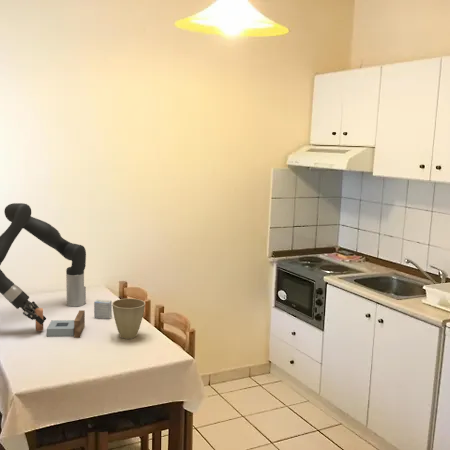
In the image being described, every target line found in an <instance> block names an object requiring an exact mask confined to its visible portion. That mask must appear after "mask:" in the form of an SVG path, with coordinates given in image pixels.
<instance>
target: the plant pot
mask: <svg viewBox="0 0 450 450" xmlns="http://www.w3.org/2000/svg"><path fill="white" fill-rule="evenodd" d="M145 306H146V302H145V301H144V300H142V299H138V298H129V297H128V298H121V299H120V298H119V299H116V300H114V301H113V302H112V311H113V312H112V314H113V316H114V317H113V318H114V322H115V324H116V325H115V326H116V329H117V332H118V334H119V337H120V338H122V339H125V340H129V339H134V338H136V337H137V335H138V333H139V330H140V328H141V327H140V326H141V323H142V320H143V317H144V313H145Z"/></svg>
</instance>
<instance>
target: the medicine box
mask: <svg viewBox="0 0 450 450" xmlns="http://www.w3.org/2000/svg"><path fill="white" fill-rule="evenodd" d="M112 303H113V302H112V300H110V299H108V300H107V299H96V300H95V301H94V303H93V311H94V312H93V313H94V319H104V320H110V319H111V318H112V317H113V312H112V311H113V306H112Z"/></svg>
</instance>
